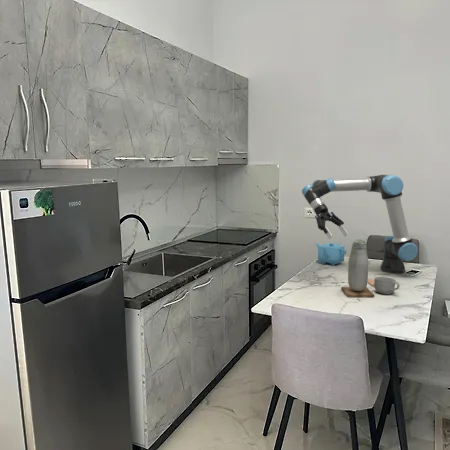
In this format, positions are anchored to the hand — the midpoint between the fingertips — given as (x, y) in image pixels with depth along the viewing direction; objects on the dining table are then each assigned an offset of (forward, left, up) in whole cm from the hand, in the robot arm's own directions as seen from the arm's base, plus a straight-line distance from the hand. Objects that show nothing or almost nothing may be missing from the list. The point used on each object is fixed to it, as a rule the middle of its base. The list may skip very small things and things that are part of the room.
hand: (338, 236), depth 234 cm
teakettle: (-8, -56, -29) cm, 64 cm away
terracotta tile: (-26, -5, -29) cm, 39 cm away
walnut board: (-8, +14, -29) cm, 33 cm away
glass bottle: (-8, +13, -28) cm, 32 cm away
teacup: (-24, +13, -29) cm, 40 cm away
